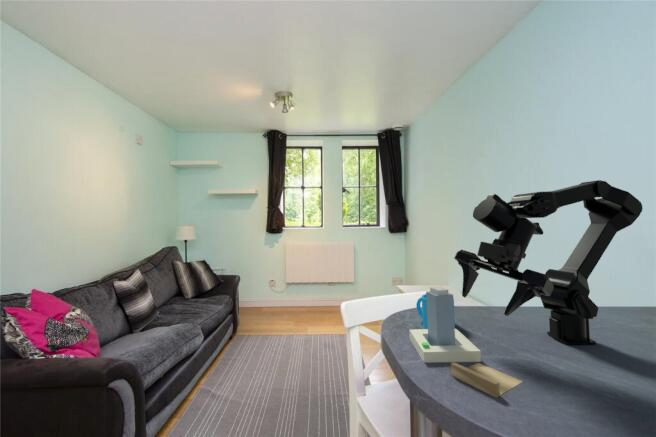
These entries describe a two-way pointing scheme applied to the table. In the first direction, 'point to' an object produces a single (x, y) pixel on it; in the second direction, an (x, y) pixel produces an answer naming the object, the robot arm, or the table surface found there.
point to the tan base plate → (485, 378)
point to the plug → (440, 317)
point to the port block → (444, 348)
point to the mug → (425, 310)
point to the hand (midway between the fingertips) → (483, 305)
